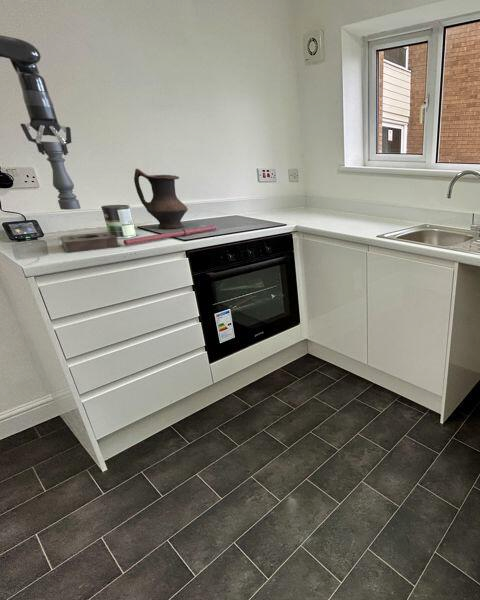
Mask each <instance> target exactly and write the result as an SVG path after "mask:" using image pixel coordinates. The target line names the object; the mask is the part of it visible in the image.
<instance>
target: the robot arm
mask: <svg viewBox="0 0 480 600" xmlns="http://www.w3.org/2000/svg"><path fill="white" fill-rule="evenodd" d="M0 58H5V59H9V62H10V63H11V65H12V68H13V69H14V71H15V73H16V75H17V78H18V83H19V86H20V89H21V92H22V98H23V100H24V101H23V102H24V104H25V107H26V111H27V114H28V117H29V120H30V121H29V123H20V128H21V130H22V131H23V134H24V135H25V137H26V140H28V142H31V143H33V144H35V145H36V148H37V151H38V153H39V154H41V155H46V153H45V151H44V150H43V146H42V144H41V142H42V138H43V136H50V137H55V138H56V139H57V141H58V142H60V143H61V145H62V149H63V154H62V155H63V156H68V154H69V150H68V146H67V145H68V144H72V130H71V127H69V126H63V125H61V124H60V123H59V121H58V117H57V114H56V111H55V107H54V103H53V100H52V98H51V96H50V93H49V89H48V86H47V83H46V80H45V78H44V77H43V76H42V75H41V74H40V71H39V68H38V66H37V64H39V63H40V61H41V58H42V55H41V52H40V51H39V49H38V48H37V47H36V46H34V45H33V43H31V42H28V41H26V40H23V39H20V38H16V37H11V36H7V35H0ZM30 127H31V128H32V129H33V130H35V132H36V136H35V138H33V137H32V135H31V133H30V130H31V128H30ZM61 130H62V132H64V133H65V140H64V138H62V136H61V135H60V131H61Z"/></svg>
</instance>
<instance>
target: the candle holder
mask: <svg viewBox="0 0 480 600" xmlns="http://www.w3.org/2000/svg"><path fill="white" fill-rule="evenodd" d="M41 144H42V146H43V150H44V153H45V155H46V156H47V158H46V161H48V162H49V163H50V167H51V170H52V186H53V188H55V190H57V193H58V195H57V199H58V200H57V202H58V203H57V204H58V205H59V209H60V210H63V211H64V210H65V211H67V210H68V211H69V210H80V209H81V204H80V201H79V199H77V195H75V194H74V193H73V192H74V188H75V184H74V182H73V181H72V179H71V177H70V175H69V174H68V171H67V170H66V166H65V161H66V159H65V158H63V155H64V154H63V149H62V145H61V143H60V142H59V141H41Z"/></svg>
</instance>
